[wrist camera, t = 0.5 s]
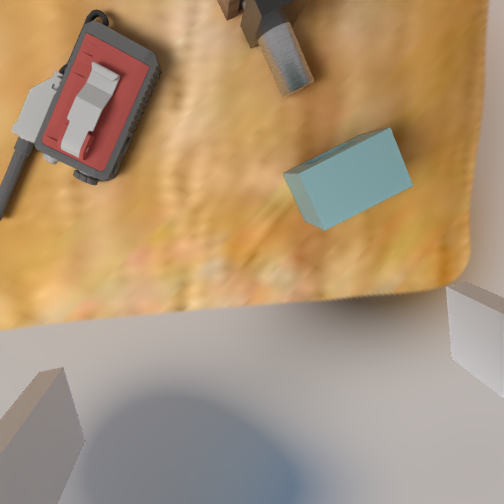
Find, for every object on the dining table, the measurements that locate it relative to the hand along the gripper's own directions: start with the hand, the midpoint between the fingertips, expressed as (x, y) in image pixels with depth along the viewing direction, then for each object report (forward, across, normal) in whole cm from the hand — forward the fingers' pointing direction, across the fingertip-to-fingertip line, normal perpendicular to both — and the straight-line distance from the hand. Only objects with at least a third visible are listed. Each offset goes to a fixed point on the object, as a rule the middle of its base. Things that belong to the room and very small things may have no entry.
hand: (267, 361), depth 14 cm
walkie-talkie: (+27, -11, +11) cm, 31 cm away
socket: (+26, +11, +4) cm, 29 cm away
